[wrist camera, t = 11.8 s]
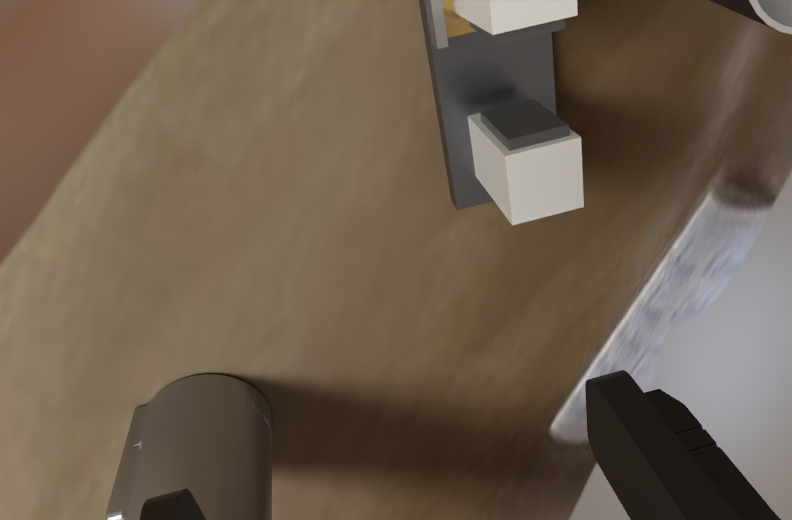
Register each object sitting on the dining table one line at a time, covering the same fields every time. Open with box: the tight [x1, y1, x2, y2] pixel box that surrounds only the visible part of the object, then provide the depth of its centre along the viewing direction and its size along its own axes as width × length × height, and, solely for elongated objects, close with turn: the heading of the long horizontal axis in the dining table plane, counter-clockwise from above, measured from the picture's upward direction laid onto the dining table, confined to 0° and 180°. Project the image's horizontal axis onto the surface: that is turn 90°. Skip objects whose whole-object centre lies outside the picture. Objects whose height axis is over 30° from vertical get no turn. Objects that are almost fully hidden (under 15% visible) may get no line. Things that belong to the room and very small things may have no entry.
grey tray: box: [419, 0, 557, 210], centre depth 36 cm, size 7×18×3 cm, turn 11°
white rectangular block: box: [468, 99, 584, 225], centre depth 35 cm, size 4×5×7 cm
